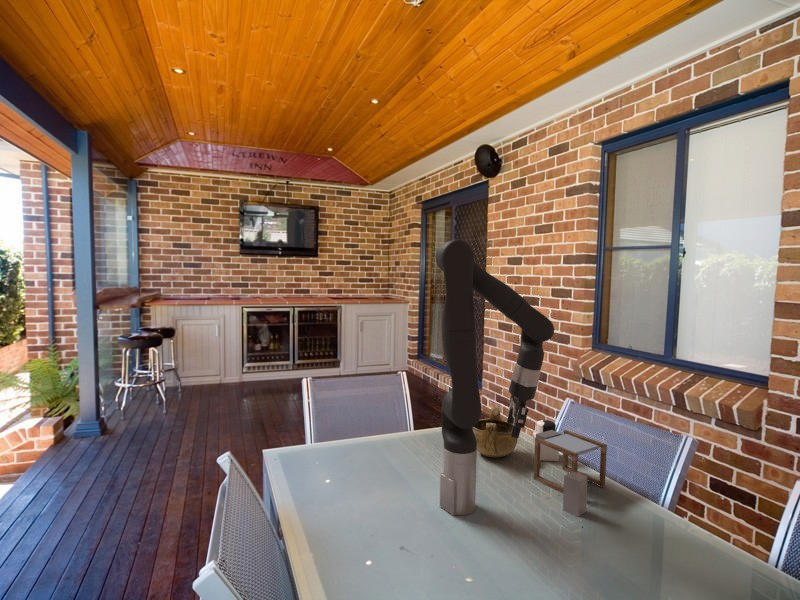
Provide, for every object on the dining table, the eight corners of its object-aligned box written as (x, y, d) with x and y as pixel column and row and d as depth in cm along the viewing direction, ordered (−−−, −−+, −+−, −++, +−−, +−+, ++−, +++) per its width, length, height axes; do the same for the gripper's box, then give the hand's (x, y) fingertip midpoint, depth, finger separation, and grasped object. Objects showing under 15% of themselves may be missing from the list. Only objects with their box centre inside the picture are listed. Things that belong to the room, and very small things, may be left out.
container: (553, 453, 168) (554, 418, 167) (558, 461, 160) (560, 425, 160) (532, 452, 169) (533, 417, 168) (536, 460, 161) (537, 424, 160)
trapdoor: (573, 457, 135) (573, 452, 135) (531, 439, 149) (531, 435, 149) (599, 449, 142) (599, 444, 141) (556, 433, 156) (556, 428, 155)
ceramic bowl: (474, 441, 179) (475, 403, 178) (518, 446, 174) (519, 408, 173) (465, 463, 158) (466, 421, 157) (516, 470, 153) (517, 426, 152)
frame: (573, 499, 134) (575, 454, 133) (533, 478, 147) (535, 438, 146) (605, 486, 142) (606, 444, 141) (564, 468, 155) (566, 430, 154)
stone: (578, 516, 124) (579, 481, 123) (563, 510, 127) (564, 475, 127) (586, 511, 127) (587, 476, 126) (570, 504, 130) (572, 471, 130)
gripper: (508, 368, 139) (497, 416, 142) (515, 387, 125) (502, 439, 128) (533, 373, 138) (521, 421, 142) (542, 392, 124) (529, 444, 128)
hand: (512, 429), depth 135 cm, fingers open, 8 cm apart
